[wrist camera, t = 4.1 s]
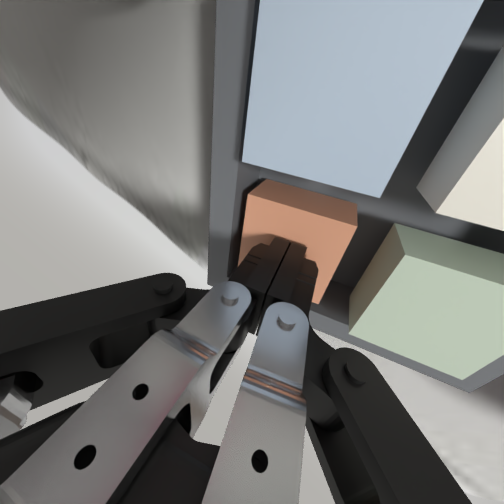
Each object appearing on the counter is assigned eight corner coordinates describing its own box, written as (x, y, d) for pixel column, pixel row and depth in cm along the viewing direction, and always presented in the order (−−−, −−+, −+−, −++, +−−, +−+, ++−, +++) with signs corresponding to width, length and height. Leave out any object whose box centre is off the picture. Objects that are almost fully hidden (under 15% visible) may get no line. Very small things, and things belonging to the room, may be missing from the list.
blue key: (291, -6, 7) (265, -53, 5) (456, 6, 6) (507, -46, 4) (265, 150, 9) (242, 161, 7) (374, 177, 8) (379, 198, 6)
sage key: (394, 222, 9) (405, 254, 7) (524, 259, 8) (578, 308, 6) (349, 296, 12) (348, 333, 10) (442, 330, 11) (462, 380, 9)
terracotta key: (266, 178, 11) (247, 193, 9) (356, 203, 10) (357, 226, 8) (253, 249, 14) (236, 272, 12) (323, 274, 13) (318, 304, 11)
